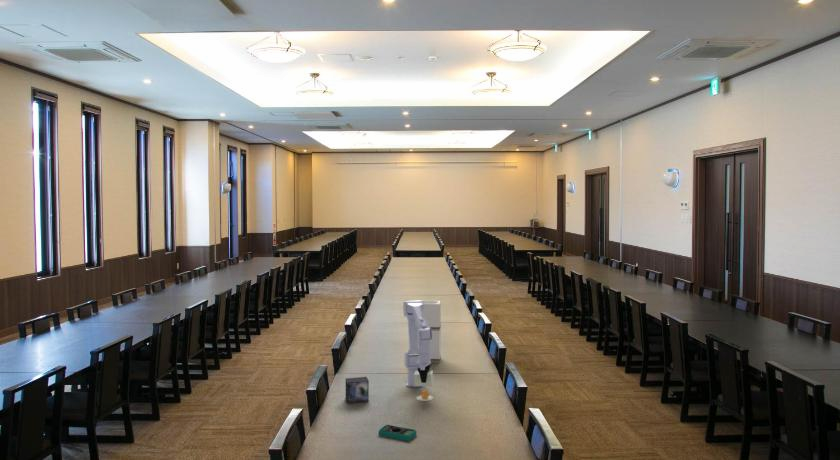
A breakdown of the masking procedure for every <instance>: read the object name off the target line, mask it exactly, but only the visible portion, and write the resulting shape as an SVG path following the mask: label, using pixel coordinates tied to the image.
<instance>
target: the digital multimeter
mask: <svg viewBox="0 0 840 460" xmlns="http://www.w3.org/2000/svg"><path fill="white" fill-rule="evenodd" d="M378 436H379V437H380V436H381V437H384V436H386V437H385V438H391V439H396V440H400V441H404V442H405V441H406V442H410V441H412V440H413V439H415V438H416V436H417V430H416V429H413V428H407V427H402V426H401V427H400V426H395V425H393V424H392V425H391V424H385V425H383V426H382V427H381V428H380V429H379V430H378Z"/></svg>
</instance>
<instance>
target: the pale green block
mask: <svg viewBox="0 0 840 460" xmlns="http://www.w3.org/2000/svg"><path fill="white" fill-rule="evenodd" d="M433 383H434V371H433V370H429V371H428V374H427V380H426V383H422V382H421V378H420V374H419V372H418V371H415V373H414V386H413V387H415V386H421V387H424V386H425V387H426V386H427V387H432V386H433Z"/></svg>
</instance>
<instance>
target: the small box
mask: <svg viewBox="0 0 840 460" xmlns="http://www.w3.org/2000/svg"><path fill="white" fill-rule="evenodd" d="M369 384H370V383H369V379H368V377H367V376H360V377H349V378H347V377H346V378H345V398H344V399H345V401H346V404H354V403H353V402H357V403H365V401H366V402H367V401H368V402H369V401H370V400H369V398H370V397H369V396H370V395H369V394H370V393H369V392H370V391H369V389H370V387H369V386H370V385H369ZM368 402H367V403H368Z"/></svg>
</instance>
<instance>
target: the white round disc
mask: <svg viewBox="0 0 840 460" xmlns="http://www.w3.org/2000/svg"><path fill="white" fill-rule="evenodd" d="M433 399H434V397H433V396H432V395H429V397H428V398H426V399H424V398H422V397H421V394H420V395H418V396H417V397H416V400H417V401H418V402H419V401H420V402H430V401H432V400H433Z"/></svg>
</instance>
